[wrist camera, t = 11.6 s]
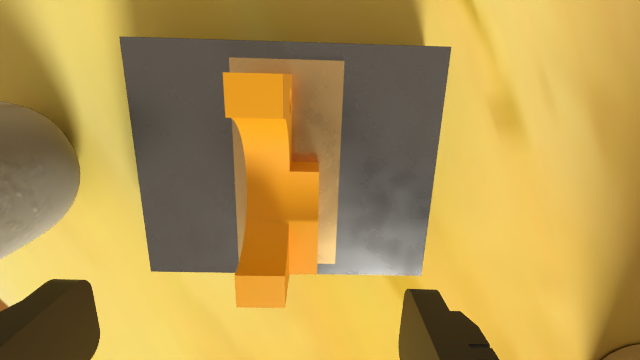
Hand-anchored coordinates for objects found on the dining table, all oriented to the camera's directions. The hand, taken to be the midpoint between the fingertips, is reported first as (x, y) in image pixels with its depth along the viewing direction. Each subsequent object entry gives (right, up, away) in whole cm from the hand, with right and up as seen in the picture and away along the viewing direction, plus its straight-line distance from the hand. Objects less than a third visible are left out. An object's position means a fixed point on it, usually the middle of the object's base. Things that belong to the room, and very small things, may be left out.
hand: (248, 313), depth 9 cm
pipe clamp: (0, +4, +14) cm, 15 cm away
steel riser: (0, +6, +19) cm, 20 cm away
